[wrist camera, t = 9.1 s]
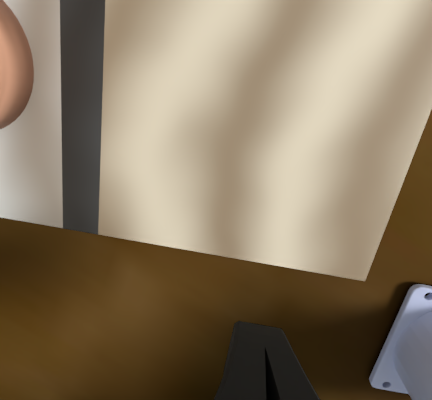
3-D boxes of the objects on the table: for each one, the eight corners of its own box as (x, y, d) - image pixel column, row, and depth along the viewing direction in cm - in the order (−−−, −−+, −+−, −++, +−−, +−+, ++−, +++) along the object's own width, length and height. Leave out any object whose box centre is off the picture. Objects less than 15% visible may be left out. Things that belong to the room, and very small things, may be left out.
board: (483, -63, 13) (501, -73, 12) (358, 271, 19) (364, 281, 18) (-263, -186, 13) (-301, -206, 12) (-162, 180, 19) (-182, 185, 18)
